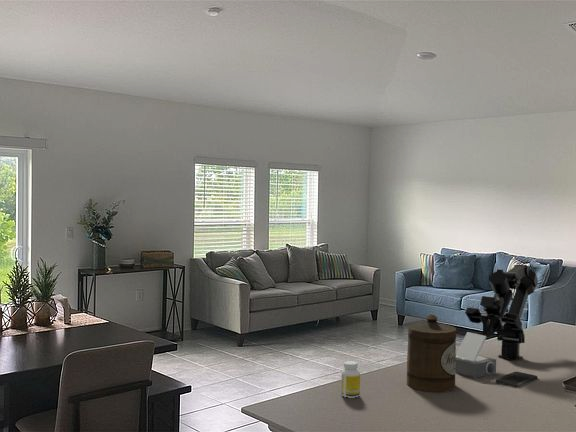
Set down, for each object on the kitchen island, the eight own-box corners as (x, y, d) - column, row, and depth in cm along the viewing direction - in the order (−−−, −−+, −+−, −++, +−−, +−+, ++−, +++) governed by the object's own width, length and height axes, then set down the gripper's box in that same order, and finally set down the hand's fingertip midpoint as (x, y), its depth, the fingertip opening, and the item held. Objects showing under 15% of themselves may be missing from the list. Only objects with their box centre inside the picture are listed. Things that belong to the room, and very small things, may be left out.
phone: (538, 376, 201) (517, 385, 191) (538, 379, 201) (517, 389, 191) (515, 371, 207) (493, 379, 196) (515, 374, 207) (493, 383, 196)
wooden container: (456, 393, 184) (458, 320, 184) (406, 390, 187) (407, 318, 187) (453, 379, 199) (454, 311, 198) (406, 376, 202) (407, 309, 201)
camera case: (474, 367, 214) (475, 353, 214) (497, 373, 207) (497, 359, 207) (454, 372, 208) (454, 358, 208) (476, 378, 200) (476, 364, 200)
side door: (468, 333, 211) (467, 331, 210) (486, 337, 205) (485, 335, 204) (455, 358, 207) (454, 357, 207) (473, 363, 201) (472, 362, 201)
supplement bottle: (363, 396, 182) (363, 363, 181) (350, 400, 178) (351, 366, 178) (350, 391, 186) (350, 359, 185) (337, 395, 182) (337, 362, 182)
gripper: (468, 284, 219) (450, 319, 212) (518, 290, 206) (502, 327, 199) (479, 304, 225) (462, 338, 218) (529, 311, 212) (513, 348, 204)
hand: (484, 338), depth 209 cm, fingers closed
